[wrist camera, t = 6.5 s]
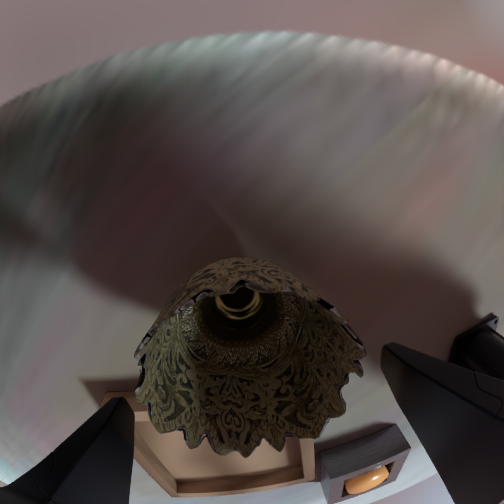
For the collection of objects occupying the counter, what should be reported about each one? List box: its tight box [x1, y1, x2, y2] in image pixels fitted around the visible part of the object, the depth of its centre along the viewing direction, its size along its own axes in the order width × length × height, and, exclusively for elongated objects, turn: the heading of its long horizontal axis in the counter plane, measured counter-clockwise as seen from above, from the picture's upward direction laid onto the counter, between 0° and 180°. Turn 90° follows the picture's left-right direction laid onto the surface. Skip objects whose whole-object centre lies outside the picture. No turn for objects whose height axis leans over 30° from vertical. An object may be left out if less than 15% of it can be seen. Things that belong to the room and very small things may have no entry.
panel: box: [320, 424, 411, 504], centre depth 21 cm, size 8×8×4 cm
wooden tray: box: [99, 391, 315, 497], centre depth 18 cm, size 14×14×2 cm
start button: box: [344, 465, 389, 494], centre depth 20 cm, size 4×4×2 cm
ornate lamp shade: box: [134, 257, 367, 458], centre depth 12 cm, size 8×7×8 cm
